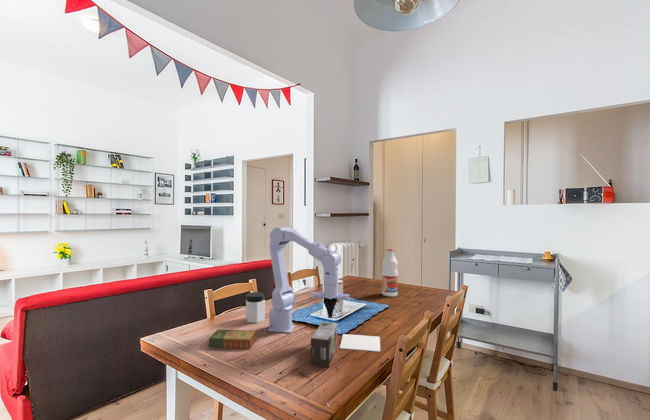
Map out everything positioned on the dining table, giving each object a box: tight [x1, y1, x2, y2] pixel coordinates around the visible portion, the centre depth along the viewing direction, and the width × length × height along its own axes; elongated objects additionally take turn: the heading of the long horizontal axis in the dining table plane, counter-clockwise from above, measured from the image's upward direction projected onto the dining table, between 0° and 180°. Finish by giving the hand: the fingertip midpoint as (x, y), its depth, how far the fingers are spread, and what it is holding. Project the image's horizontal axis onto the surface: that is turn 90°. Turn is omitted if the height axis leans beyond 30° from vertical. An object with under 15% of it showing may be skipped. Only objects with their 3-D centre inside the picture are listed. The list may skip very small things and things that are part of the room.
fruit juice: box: [381, 247, 399, 297], centre depth 191 cm, size 9×9×28 cm
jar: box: [245, 291, 266, 324], centre depth 146 cm, size 9×8×12 cm
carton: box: [208, 328, 257, 350], centre depth 121 cm, size 8×16×4 cm, turn 86°
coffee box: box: [310, 321, 338, 368], centre depth 112 cm, size 9×6×16 cm
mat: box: [339, 333, 381, 353], centre depth 123 cm, size 15×13×1 cm
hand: (330, 317), depth 125 cm, fingers closed
